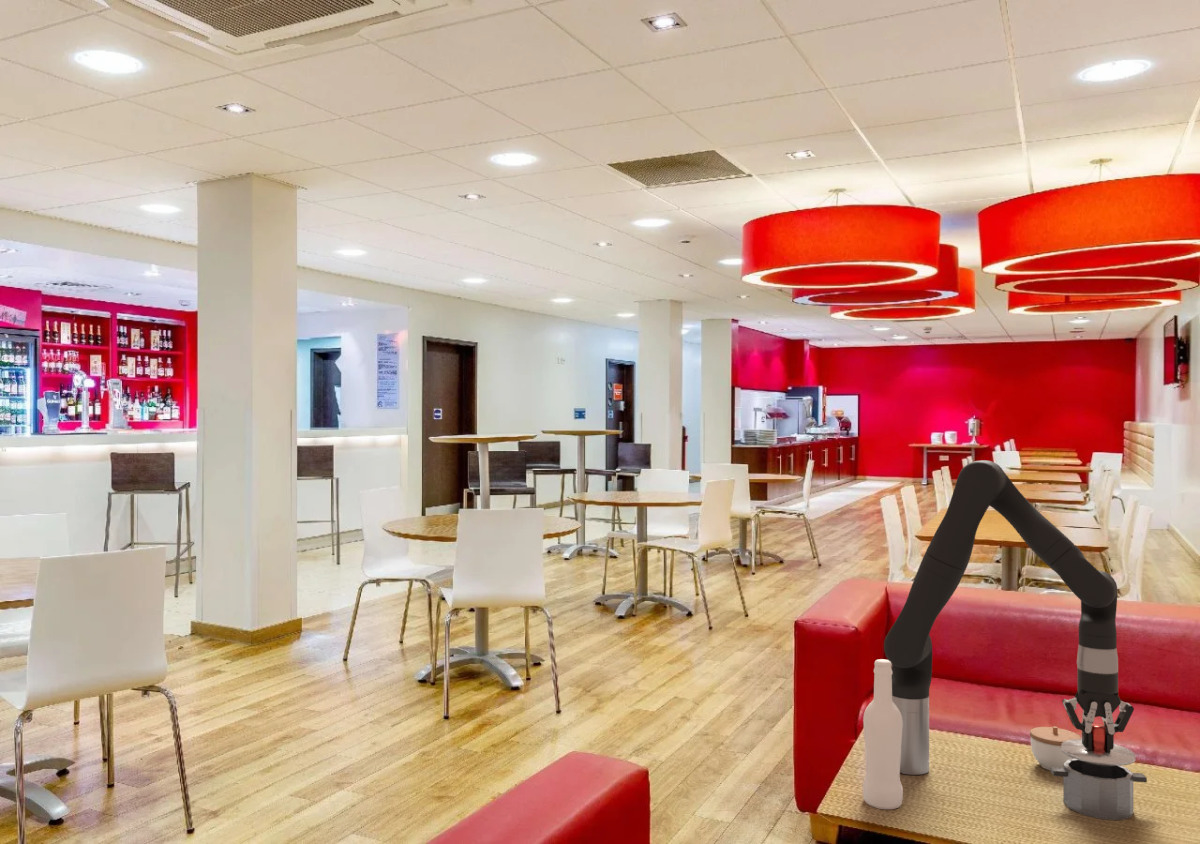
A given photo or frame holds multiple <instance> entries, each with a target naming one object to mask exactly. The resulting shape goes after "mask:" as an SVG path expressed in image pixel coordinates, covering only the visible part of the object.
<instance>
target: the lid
mask: <svg viewBox="0 0 1200 844" xmlns="http://www.w3.org/2000/svg"><path fill="white" fill-rule="evenodd" d="M1091 733H1092V751H1088V750H1087V749H1086V748H1085V747H1084V746H1083V744H1082V738H1081V739H1074V740H1068V741H1065V742H1063V743H1062V745H1061V749H1062V751H1063V752H1064V753H1065V754H1066V755H1068V756H1070V757H1072V758H1075V759H1078V760H1080V761H1082V762H1085V763H1089V764H1093V765H1098V766H1129V765H1132V764H1134V763H1135V761H1136V754H1135V752H1134V751H1132V750H1131V749H1130V748H1129V749H1128V748H1127V747H1125V746H1122V745H1119V744H1116V743H1114V747H1113V749H1111V752H1106V727H1105V726H1104V724H1100V723H1093V724H1092V729H1091Z"/></svg>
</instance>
